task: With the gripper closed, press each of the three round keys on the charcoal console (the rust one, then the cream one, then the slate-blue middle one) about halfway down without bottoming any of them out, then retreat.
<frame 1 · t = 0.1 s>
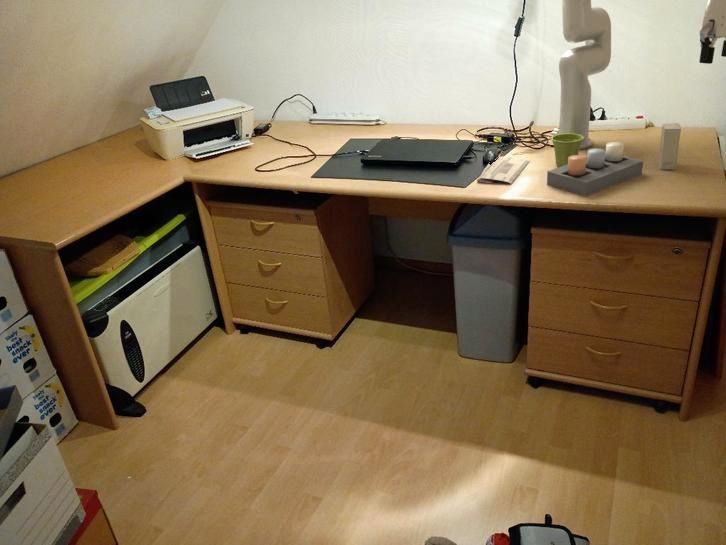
hand: (716, 59, 159), 31 cm above the table, tool pointing down, fingers open, 9 cm apart
skincare box: (666, 167, 181), on the table
newspaper: (500, 174, 192), on the table
key cream: (614, 151, 178), point 6 cm above the table, slide at 0.0 cm
key slate: (596, 158, 175), point 6 cm above the table, slide at 0.0 cm
key rust: (576, 165, 171), point 6 cm above the table, slide at 0.0 cm
plant pot: (565, 165, 192), on the table
console: (594, 179, 178), on the table
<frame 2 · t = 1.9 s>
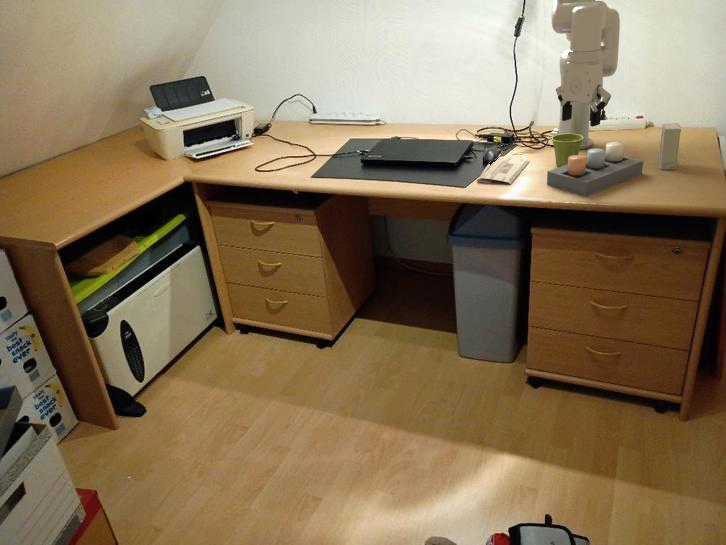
hand: (580, 122, 166), 18 cm above the table, tool pointing down, fingers open, 9 cm apart
nothing on the table moved.
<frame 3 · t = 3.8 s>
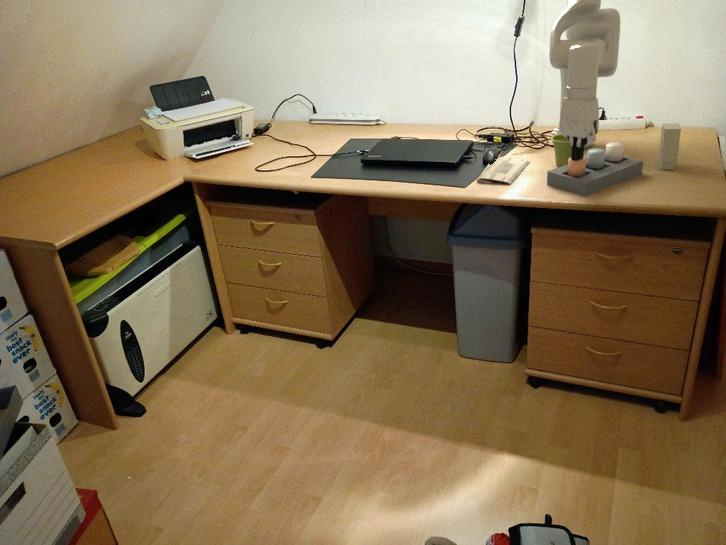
hand: (577, 159, 170), 8 cm above the table, tool pointing down, fingers closed
key rust: (576, 166, 172), point 6 cm above the table, slide at 0.4 cm, touching gripper
everything else where it was.
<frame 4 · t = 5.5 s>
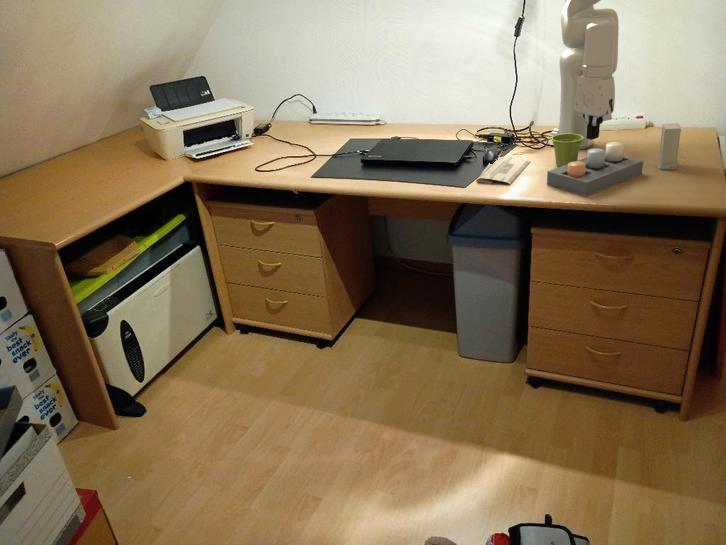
hand: (592, 138, 171), 13 cm above the table, tool pointing down, fingers closed
key rust: (576, 171, 172), point 5 cm above the table, slide at 1.8 cm
everything else where it was.
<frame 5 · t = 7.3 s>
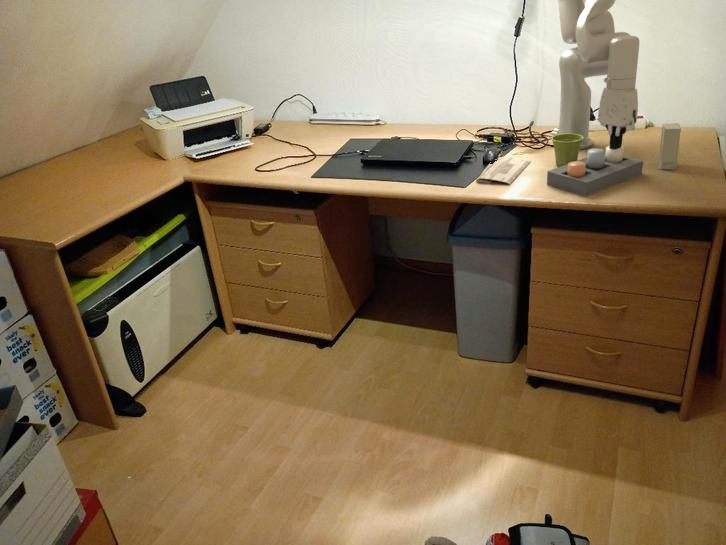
hand: (615, 148, 178), 8 cm above the table, tool pointing down, fingers closed
key cream: (614, 155, 179), point 5 cm above the table, slide at 1.0 cm, touching gripper
everything else where it was.
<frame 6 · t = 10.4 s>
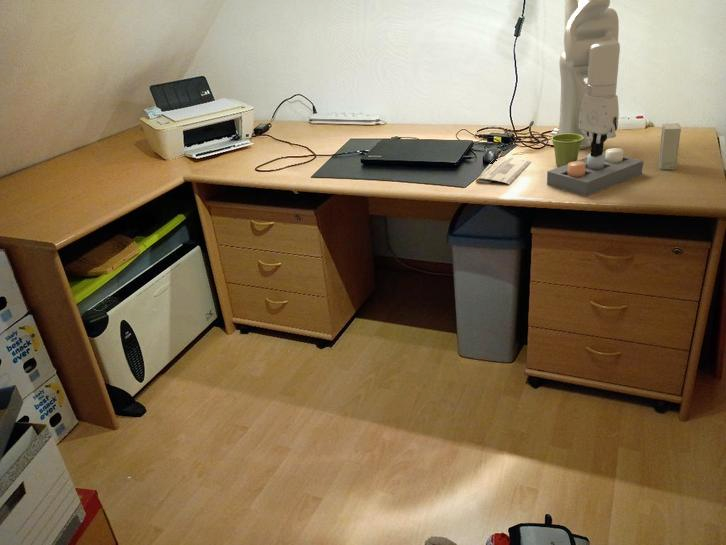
hand: (596, 155, 174), 7 cm above the table, tool pointing down, fingers closed
key cream: (613, 157, 179), point 4 cm above the table, slide at 1.9 cm
key slate: (595, 162, 176), point 5 cm above the table, slide at 1.2 cm, touching gripper
everything else where it was.
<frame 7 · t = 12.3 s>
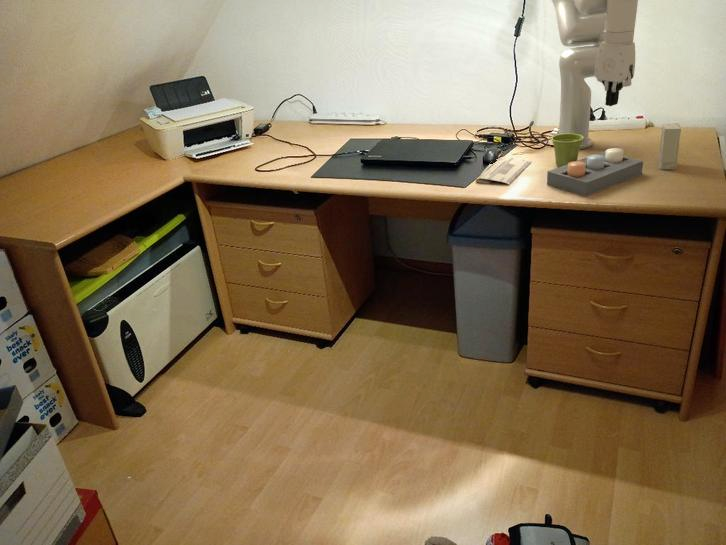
hand: (611, 104, 173), 20 cm above the table, tool pointing down, fingers closed
key slate: (595, 164, 176), point 5 cm above the table, slide at 1.8 cm
everything else where it was.
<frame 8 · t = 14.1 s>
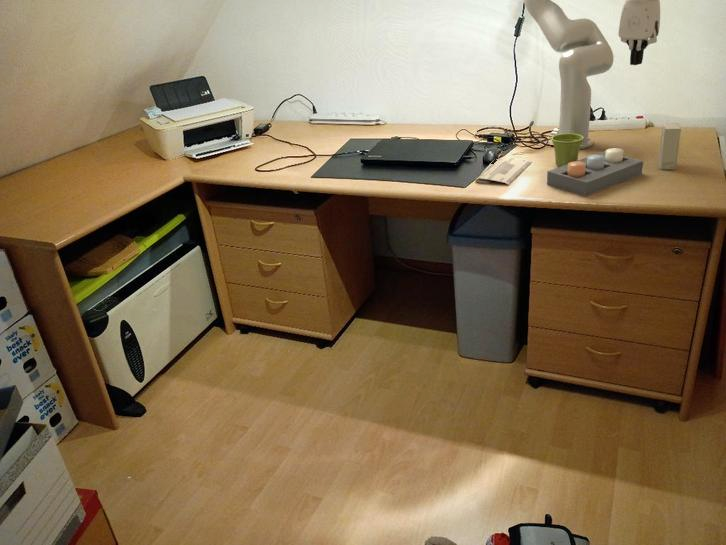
hand: (635, 64, 174), 29 cm above the table, tool pointing down, fingers closed
nothing on the table moved.
at the end: key rust slide at 1.8 cm; key cream slide at 1.9 cm; key slate slide at 1.8 cm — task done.
